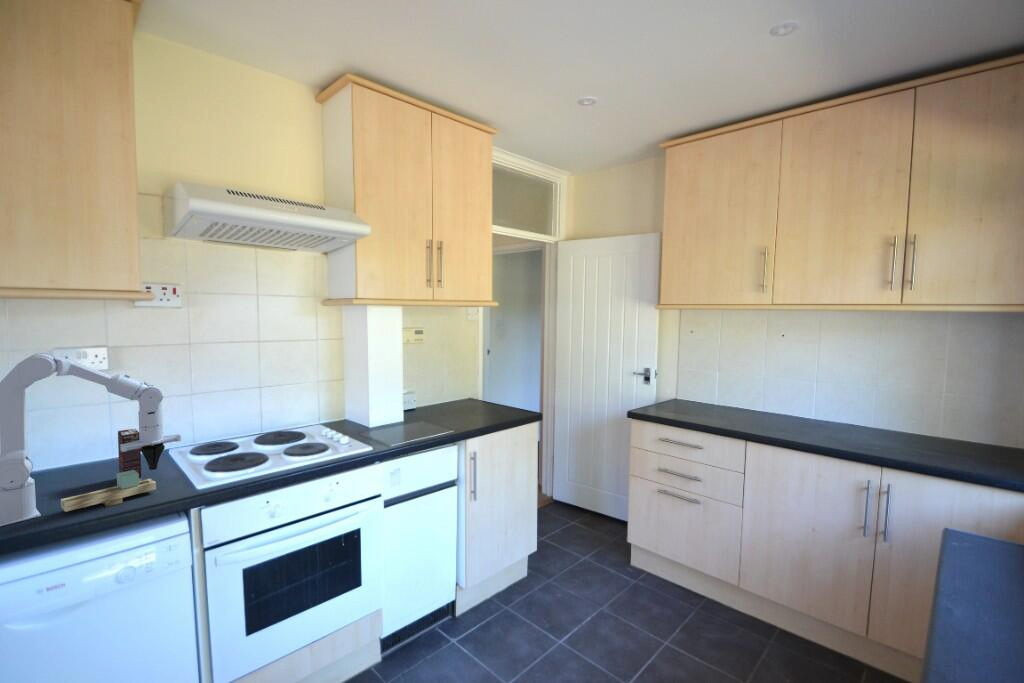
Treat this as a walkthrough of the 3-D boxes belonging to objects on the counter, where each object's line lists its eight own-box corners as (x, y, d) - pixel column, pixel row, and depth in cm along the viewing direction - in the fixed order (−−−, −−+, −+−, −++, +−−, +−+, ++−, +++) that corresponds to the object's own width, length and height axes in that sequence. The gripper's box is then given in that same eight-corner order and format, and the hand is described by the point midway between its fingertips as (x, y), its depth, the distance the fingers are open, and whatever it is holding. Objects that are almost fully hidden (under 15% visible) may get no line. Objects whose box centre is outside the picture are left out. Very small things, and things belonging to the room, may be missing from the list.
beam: (66, 516, 122) (65, 504, 122) (60, 510, 126) (60, 498, 126) (157, 493, 139) (156, 482, 138) (149, 488, 142) (149, 477, 142)
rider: (122, 493, 132) (121, 476, 132) (117, 489, 135) (116, 473, 135) (139, 488, 136) (138, 473, 135) (134, 485, 138) (133, 469, 138)
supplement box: (142, 480, 149) (140, 432, 148) (123, 484, 145) (121, 435, 145) (137, 474, 155) (135, 428, 154) (118, 478, 151) (116, 430, 150)
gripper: (124, 432, 131) (126, 478, 132) (183, 422, 143) (185, 465, 144) (117, 428, 135) (119, 473, 136) (175, 419, 147) (176, 460, 148)
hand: (152, 469), depth 140 cm, fingers closed
